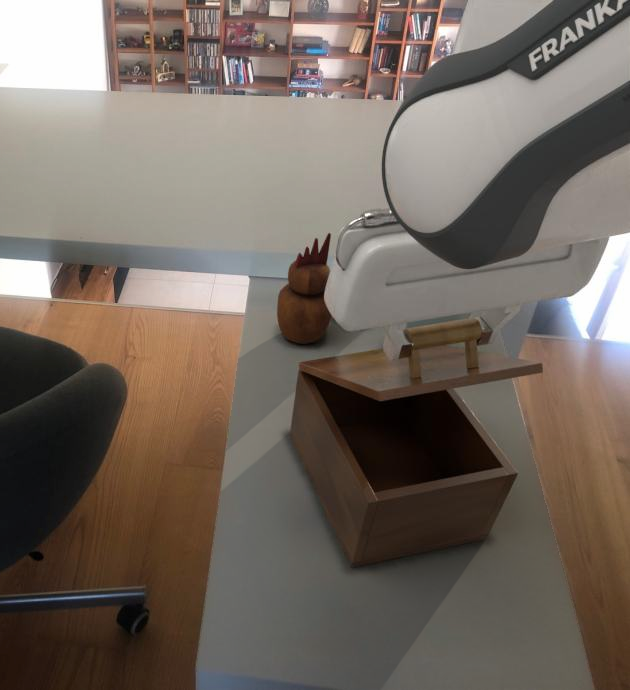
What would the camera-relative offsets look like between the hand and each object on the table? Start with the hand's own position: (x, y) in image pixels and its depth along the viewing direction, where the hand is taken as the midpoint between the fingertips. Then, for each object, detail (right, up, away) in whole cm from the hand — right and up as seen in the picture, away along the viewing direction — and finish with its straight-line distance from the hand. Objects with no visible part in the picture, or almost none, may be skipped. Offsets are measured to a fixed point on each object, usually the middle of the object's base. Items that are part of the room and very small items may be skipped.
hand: (437, 347), depth 56 cm
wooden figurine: (-5, +1, +33) cm, 34 cm away
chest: (0, -14, +15) cm, 21 cm away
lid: (-1, -2, +6) cm, 6 cm away
